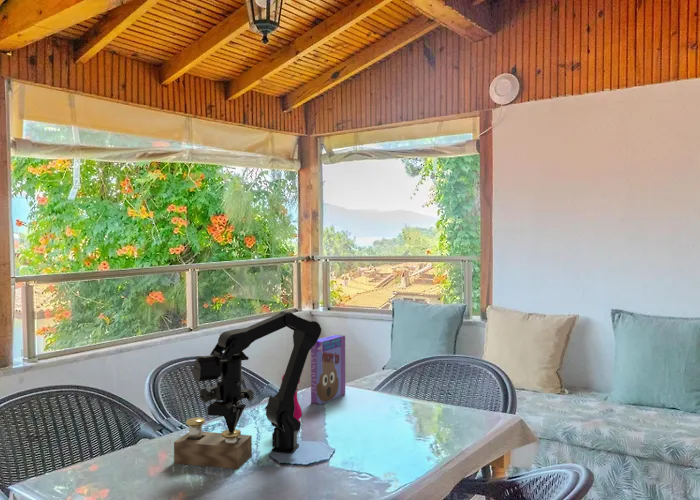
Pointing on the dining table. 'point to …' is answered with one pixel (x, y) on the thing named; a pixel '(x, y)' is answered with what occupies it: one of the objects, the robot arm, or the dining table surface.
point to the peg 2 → (231, 436)
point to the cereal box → (328, 369)
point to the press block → (213, 451)
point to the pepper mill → (296, 405)
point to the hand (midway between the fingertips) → (231, 432)
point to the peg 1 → (195, 428)
